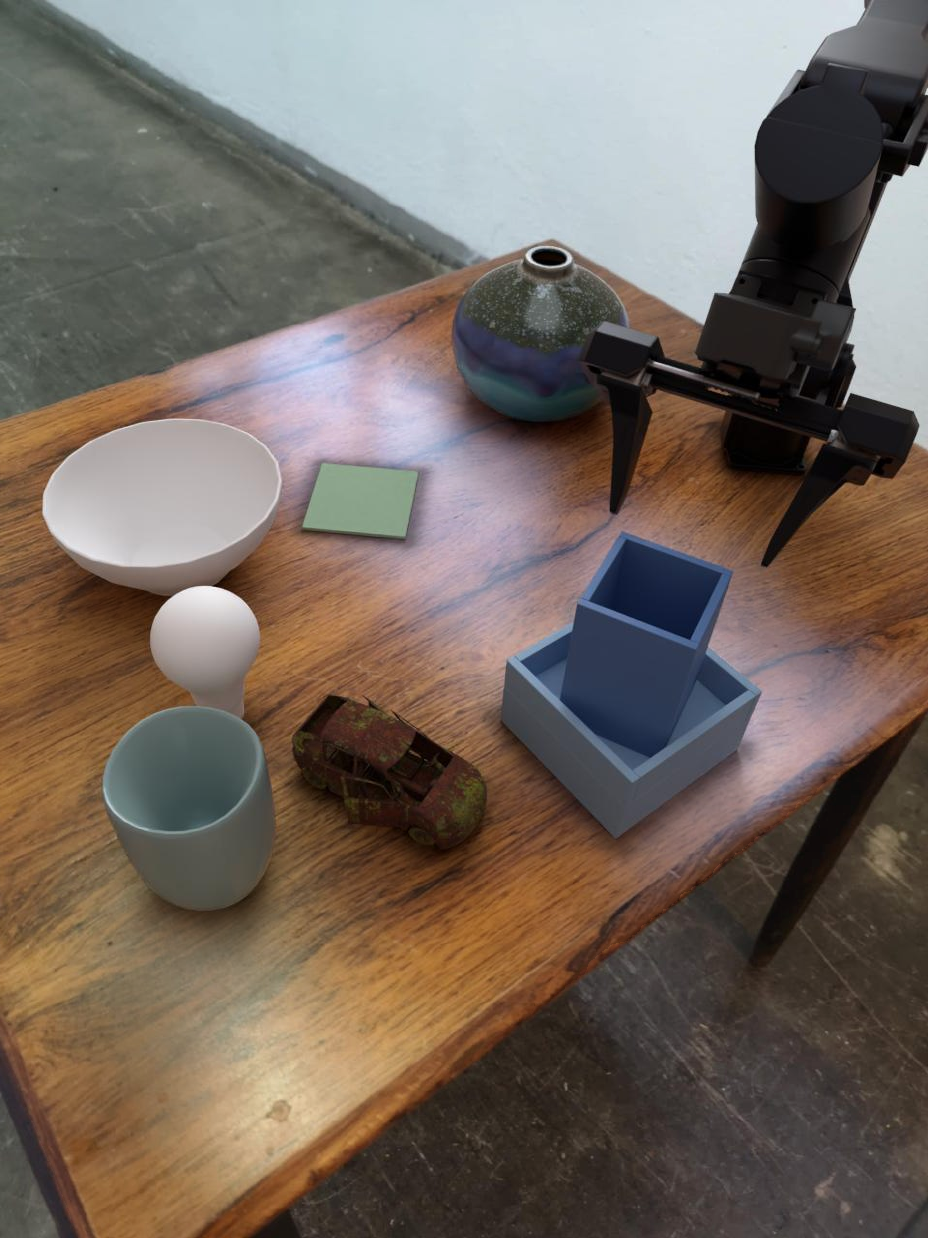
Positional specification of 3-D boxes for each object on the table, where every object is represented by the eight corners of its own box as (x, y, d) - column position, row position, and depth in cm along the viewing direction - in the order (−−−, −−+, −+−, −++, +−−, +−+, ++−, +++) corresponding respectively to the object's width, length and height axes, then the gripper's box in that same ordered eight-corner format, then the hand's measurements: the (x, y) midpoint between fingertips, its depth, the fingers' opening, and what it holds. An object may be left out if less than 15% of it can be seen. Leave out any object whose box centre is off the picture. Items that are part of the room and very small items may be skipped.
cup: (256, 946, 51) (229, 852, 44) (119, 915, 52) (70, 819, 44) (302, 821, 56) (285, 718, 49) (176, 795, 57) (141, 691, 50)
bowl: (21, 599, 67) (-12, 524, 62) (153, 470, 78) (134, 397, 72) (217, 670, 64) (200, 596, 59) (329, 524, 74) (322, 451, 69)
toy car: (272, 791, 58) (262, 743, 54) (338, 711, 62) (333, 662, 58) (444, 884, 54) (446, 840, 50) (502, 793, 58) (508, 746, 54)
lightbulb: (290, 699, 62) (272, 580, 54) (246, 773, 58) (219, 656, 50) (207, 673, 63) (176, 553, 55) (158, 744, 59) (117, 625, 51)
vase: (416, 409, 85) (416, 266, 75) (503, 333, 94) (513, 197, 84) (570, 470, 80) (592, 326, 70) (646, 384, 89) (675, 246, 79)
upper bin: (597, 646, 62) (621, 530, 54) (694, 685, 60) (733, 570, 53) (556, 717, 58) (576, 603, 50) (659, 762, 56) (696, 649, 48)
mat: (418, 474, 79) (418, 471, 78) (405, 539, 73) (405, 536, 73) (322, 465, 79) (322, 462, 79) (302, 529, 73) (301, 527, 73)
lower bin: (619, 646, 67) (634, 585, 62) (737, 749, 61) (762, 691, 56) (499, 719, 62) (506, 659, 57) (615, 839, 56) (632, 783, 52)
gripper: (615, 178, 49) (507, 463, 51) (992, 270, 44) (861, 586, 45) (641, 262, 60) (551, 495, 61) (947, 344, 55) (842, 599, 56)
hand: (686, 539), depth 56 cm, fingers open, 9 cm apart
